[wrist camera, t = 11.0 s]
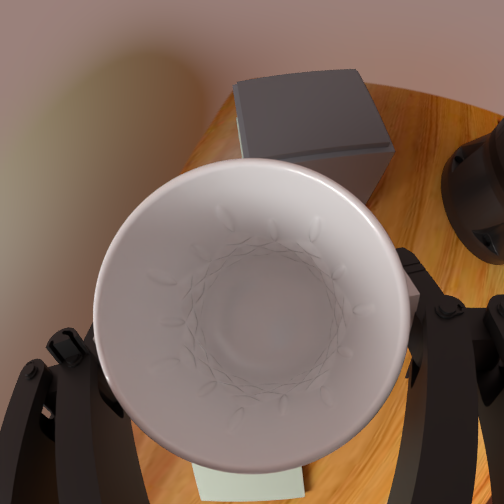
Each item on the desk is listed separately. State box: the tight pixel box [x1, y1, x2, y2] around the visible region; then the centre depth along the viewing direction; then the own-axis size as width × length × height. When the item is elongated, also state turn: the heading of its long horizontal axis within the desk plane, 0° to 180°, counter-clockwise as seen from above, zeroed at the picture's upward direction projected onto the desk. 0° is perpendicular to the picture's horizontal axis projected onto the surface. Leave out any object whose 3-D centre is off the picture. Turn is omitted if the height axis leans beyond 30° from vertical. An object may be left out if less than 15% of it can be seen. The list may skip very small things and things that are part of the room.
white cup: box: [93, 158, 410, 474], centre depth 11 cm, size 8×8×10 cm
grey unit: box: [233, 69, 395, 205], centre depth 24 cm, size 11×8×13 cm
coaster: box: [192, 463, 305, 501], centre depth 24 cm, size 11×11×1 cm
